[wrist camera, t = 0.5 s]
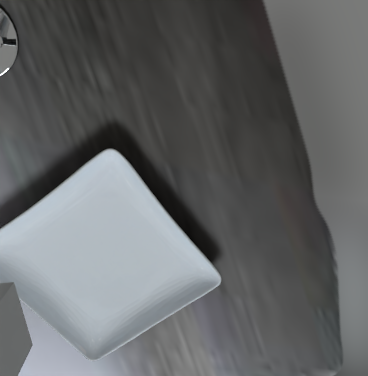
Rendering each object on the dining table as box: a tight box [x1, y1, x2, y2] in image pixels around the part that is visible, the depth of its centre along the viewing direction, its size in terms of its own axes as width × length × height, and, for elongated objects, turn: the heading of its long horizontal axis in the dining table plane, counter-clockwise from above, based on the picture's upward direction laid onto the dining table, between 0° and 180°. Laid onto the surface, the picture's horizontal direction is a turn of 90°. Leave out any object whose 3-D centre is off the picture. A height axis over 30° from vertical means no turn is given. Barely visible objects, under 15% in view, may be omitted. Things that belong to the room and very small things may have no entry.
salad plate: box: [0, 148, 221, 361], centre depth 40 cm, size 21×21×3 cm
